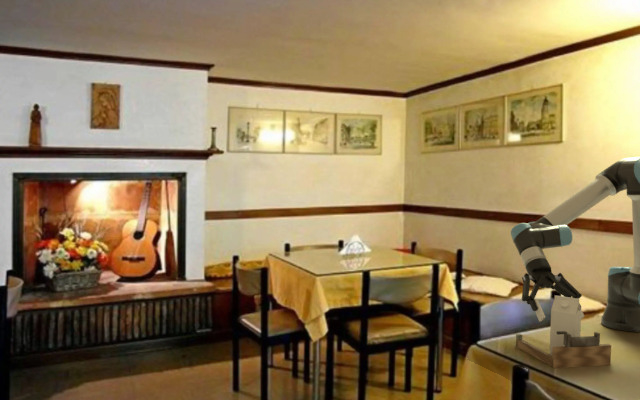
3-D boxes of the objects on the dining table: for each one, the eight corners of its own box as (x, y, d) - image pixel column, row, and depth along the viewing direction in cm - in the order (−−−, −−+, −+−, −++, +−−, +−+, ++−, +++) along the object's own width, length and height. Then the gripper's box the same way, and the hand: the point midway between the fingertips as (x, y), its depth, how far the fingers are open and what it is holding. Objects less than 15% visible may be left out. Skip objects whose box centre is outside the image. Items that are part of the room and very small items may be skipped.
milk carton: (555, 351, 166) (557, 293, 165) (579, 356, 161) (582, 297, 160) (549, 357, 160) (551, 297, 159) (573, 362, 156) (576, 300, 155)
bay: (566, 343, 174) (567, 312, 173) (612, 365, 153) (614, 330, 153) (515, 345, 170) (516, 314, 170) (556, 369, 150) (557, 333, 149)
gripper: (563, 269, 179) (590, 323, 165) (497, 269, 175) (520, 325, 161) (574, 256, 174) (603, 312, 160) (507, 256, 169) (531, 313, 155)
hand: (562, 319), depth 160 cm, fingers open, 13 cm apart
